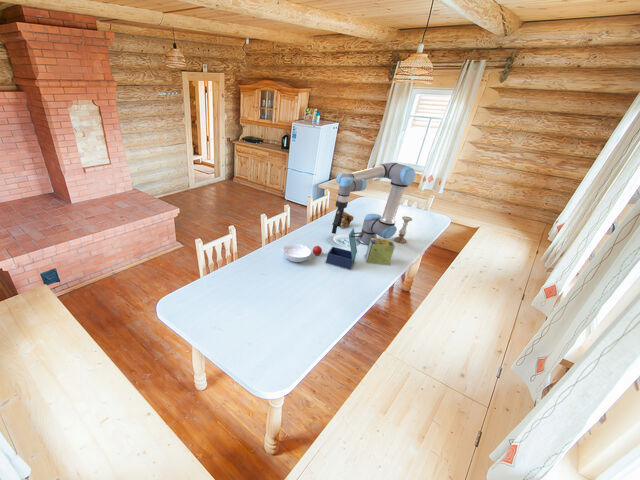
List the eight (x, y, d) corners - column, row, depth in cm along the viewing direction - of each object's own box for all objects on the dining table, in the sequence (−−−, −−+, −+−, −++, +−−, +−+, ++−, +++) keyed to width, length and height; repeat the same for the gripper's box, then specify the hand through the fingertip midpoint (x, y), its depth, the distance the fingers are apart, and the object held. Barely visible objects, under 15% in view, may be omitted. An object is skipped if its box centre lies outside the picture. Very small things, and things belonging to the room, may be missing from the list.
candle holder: (403, 238, 268) (410, 216, 257) (407, 243, 260) (414, 220, 250) (392, 237, 268) (399, 215, 258) (396, 242, 261) (403, 219, 250)
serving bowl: (309, 267, 224) (311, 258, 221) (280, 263, 228) (281, 255, 224) (310, 253, 242) (311, 245, 238) (282, 250, 245) (283, 242, 241)
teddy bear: (334, 224, 289) (337, 211, 282) (346, 222, 294) (349, 208, 287) (341, 228, 281) (344, 215, 274) (353, 226, 286) (357, 212, 280)
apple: (313, 251, 244) (315, 242, 240) (322, 253, 242) (324, 244, 237) (310, 255, 239) (312, 246, 235) (319, 257, 236) (321, 248, 232)
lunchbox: (325, 262, 230) (327, 253, 226) (330, 255, 240) (332, 246, 236) (350, 269, 223) (352, 260, 219) (354, 261, 232) (356, 252, 228)
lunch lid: (348, 235, 212) (361, 234, 208) (352, 228, 222) (365, 227, 217) (352, 259, 219) (364, 259, 214) (356, 252, 228) (368, 251, 224)
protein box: (389, 265, 230) (395, 246, 222) (367, 262, 232) (372, 243, 224) (386, 258, 238) (392, 239, 230) (365, 255, 241) (370, 237, 233)
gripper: (340, 194, 222) (335, 222, 234) (331, 205, 203) (326, 235, 215) (351, 196, 219) (345, 224, 231) (343, 207, 201) (337, 237, 212)
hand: (336, 229), depth 223 cm, fingers open, 13 cm apart
